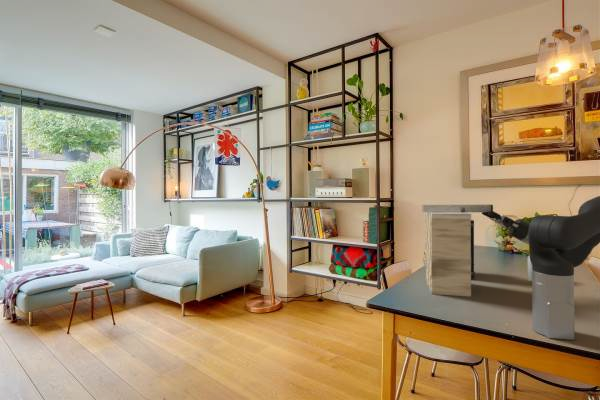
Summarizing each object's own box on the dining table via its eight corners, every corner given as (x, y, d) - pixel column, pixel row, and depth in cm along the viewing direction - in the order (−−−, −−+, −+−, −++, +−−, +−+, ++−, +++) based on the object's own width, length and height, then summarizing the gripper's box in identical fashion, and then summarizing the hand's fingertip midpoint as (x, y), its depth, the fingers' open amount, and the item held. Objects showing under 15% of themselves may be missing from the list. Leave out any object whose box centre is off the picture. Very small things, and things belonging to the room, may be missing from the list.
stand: (471, 297, 120) (471, 208, 119) (432, 294, 124) (431, 208, 123) (458, 281, 141) (458, 206, 141) (425, 279, 145) (424, 206, 144)
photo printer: (535, 277, 147) (535, 250, 146) (546, 279, 143) (546, 252, 143) (525, 280, 141) (525, 253, 141) (536, 283, 137) (536, 254, 137)
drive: (492, 212, 125) (492, 204, 125) (423, 212, 132) (423, 205, 132) (489, 211, 129) (489, 204, 129) (422, 211, 136) (422, 204, 136)
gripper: (523, 222, 131) (485, 203, 134) (539, 226, 117) (497, 204, 120) (513, 238, 132) (476, 218, 135) (528, 243, 118) (486, 221, 122)
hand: (486, 212), depth 128 cm, fingers open, 8 cm apart
